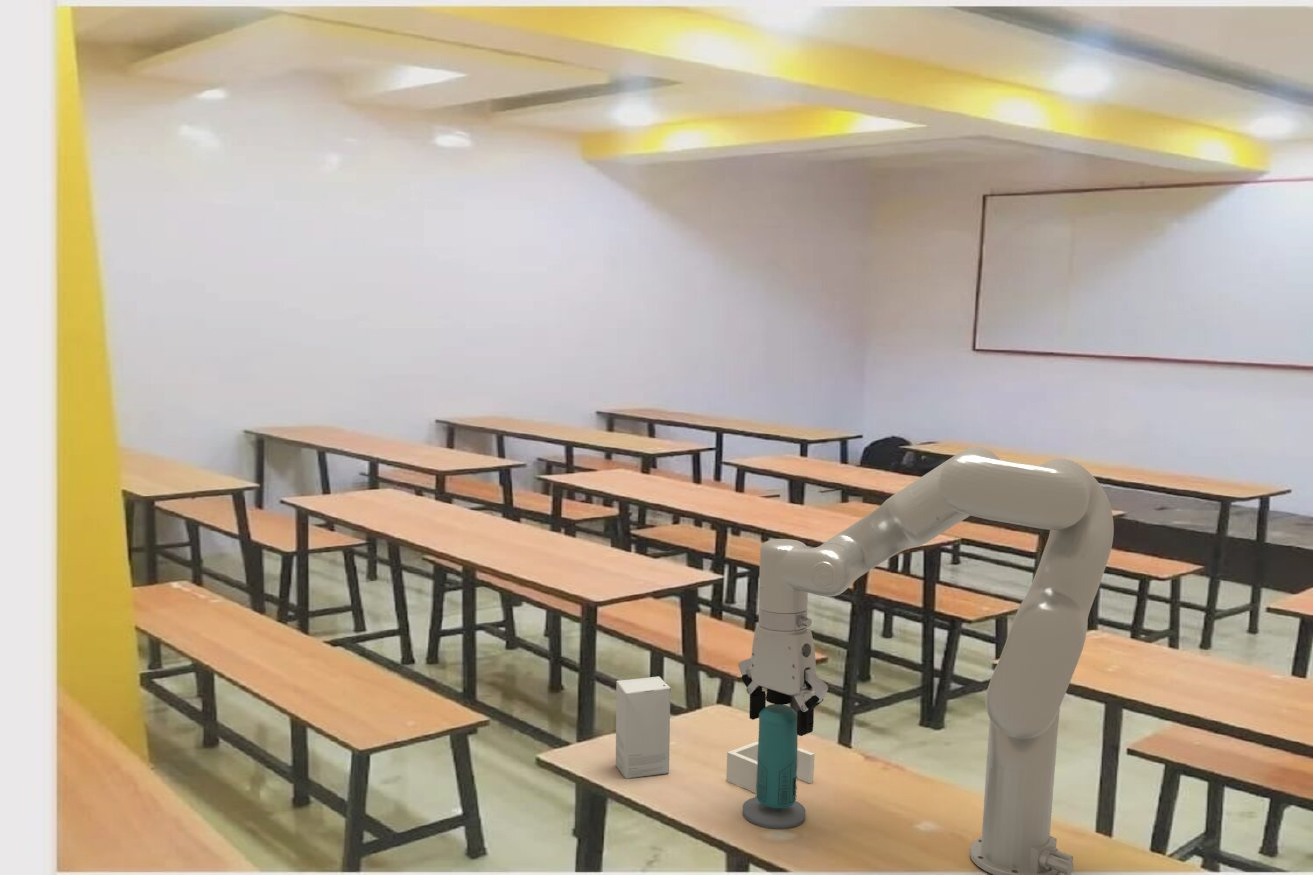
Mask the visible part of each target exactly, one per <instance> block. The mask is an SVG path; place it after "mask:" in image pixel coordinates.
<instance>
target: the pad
mask: <svg viewBox="0 0 1313 875" xmlns="http://www.w3.org/2000/svg"><path fill="white" fill-rule="evenodd" d="M806 814H807V810H806V808H805V806H804V805H803V804H802V803H800V802H799V801H797V800H795V803H794V804H793V805H792V806H789V807H786V808H772V807H767V806H765V805H762V804H761V803H759V802H758V800H757V797H756V796H755V797H754V796H753V797H751V798H749V799H747V800H745V801H744V803H743V804H742V816H743V818H744V819H745V820H746V821H747V822H749V824H752V825H755V826H757V827H761V828H765V829H771V830H786V829H791V828H792V829H793V828H795V827H796V828H797V827H799V826H801V825H802V824H803V823H804V822H805V821H806V816H807V815H806Z"/></svg>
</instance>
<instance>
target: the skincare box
mask: <svg viewBox="0 0 1313 875" xmlns="http://www.w3.org/2000/svg"><path fill="white" fill-rule="evenodd" d="M615 684H616V685H615V686H616V688H615V689H616V691H615V692H616V696H615V701H616V704H615V707H616V708H615V766H616V767H617V769H618V770H619V772H620V773H621V774H622V775H623V777H624V778H625V779H626V780H627V779H633V778H643V777H649V776H657V775H664V774H669V773H670V743H671V741H670V738H671V737H670V734H671V733H670V732H671V730H670V729H671V691H672V688H671V686H669V685H668V684H667V683H666V681H664V680H663V679H662V677H661V676H659V675H658V676H651V677H642V678H640V677H639V678H632V679H624V680H622V679H621V680H620V679H619V680H616V683H615Z"/></svg>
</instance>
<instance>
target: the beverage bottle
mask: <svg viewBox="0 0 1313 875" xmlns="http://www.w3.org/2000/svg"><path fill="white" fill-rule="evenodd" d="M767 702H768V703H770V704H769V705H768V704H767V705H766V707H765V708H764V709H763V710H761V711H760V713H759V718H758V740H757V741H758V756H757V757H758V761H757V766H756V767H757V773H756V774H757V783H756V789H757V791H756V792H757V793H756V795H755V797H757V800H758V802H759V803H761V804H762V805H765V806H767V807H772V808H786V807H789V806H792V805H793V804H794V803H795V801H797V790H798V786H797V777H796V775H797V769H798V765H797V764H798V763H797V762H798V761H797V760H798V759H797V747H799V744H798V738H799V735H798V734H797V712H796V710H794V708H792V707H791V706H789V704H791V703H792V702H793V696H789V695H786V694H782V693H779V692H777V691H773V690H770V689H767V688H766V703H767ZM797 776H798V775H797Z"/></svg>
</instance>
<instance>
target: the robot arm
mask: <svg viewBox="0 0 1313 875" xmlns="http://www.w3.org/2000/svg"><path fill="white" fill-rule="evenodd" d="M1109 500H1110V499H1109V498H1108V496H1107V493H1106V491H1105V490H1104V489H1103V487H1102V485H1101V484H1100V483H1099V481H1098V480H1097V479H1096V478H1095V476H1093V474H1091V472H1090V471H1088V469H1086V468H1085V467H1084V466H1082V465H1081V464H1079V463H1078V462H1075V461H1072V460H1070V459H1065V458H1056V459H1051V460H1049V461H1047V462H1044V463H1042V464H1041V465H1036V464H1034V465H1033V464H1026V463H1022V462H1021V463H1019V462H1013V461H1009V460H1003V459H1000V458H999V456H997V455H996V454H995V453H994V452H993V451H991V450H989V449H986V448H983V447H977V446H976V447H970V448H967V449H966V448H965V449H964V450H961V451H959V452H958V453H956V454H955V455H953V456H952V457H950V458H949V459H948V458H947V460H946V461H944V462H942V463H941V464H940V465H939V464H938V466H936V467H934V468H933V469H932V470H930V471H928V472H927V473H925V474H924V475H922V476H921V477H920V478H918V479H916V480H914V481H913V482H911V483H910V484H908V485H907V486H905V487H903V488H902V489H901V490H899V491H897V492H896V493H894V494H893V495H891V496H890V497H888V498H887V499H886V500H885V501H884V502H883V503H882V504H881V505H880V506H879V507H877V508H876V509H875V510H873V511H871V512H870V513H869V514H867V515H865V516H864V517H863V518H861V519H859V520H857V521H856V522H855V523H853V524H851V525H850V526H848V527H847V528H845V529H843V530H842V531H841V532H839V533H837V534H836V535H834V536H832V537H831V538H829V539H828V540H826V541H825V542H824V543H822V544H821V545H819V546H817V547H813V548H811V547H810V548H809V547H807V545H806V544H805V543H804V542H802V541H800V540H796V539H792V538H791V539H789V538H777V539H776V538H775V539H770V540H766V541H765V542H764V543H762V545H761V546H760V548H759V550H760V551H759V578H758V579H759V582H758V583H759V584H758V586H759V587H758V591H759V592H758V594H759V595H758V604H759V605H758V623H757V624H756V626H755V630H754V633H753V635H754V636H753V640H752V648H751V656H750V657H749V658H747V659H744V660H742V661H740V662H738V663H737V666H738V669H739V671H740V675H741V680H742V683H743V684H744V685H745V687H746V688H745V692H746V693H747V694H748V695H749V719H750V720H752V721H755V720H756V719H759V713H760V711H761V710H763V709H764V708H765V707H766V706H767V705H766V704H767V701H766V695H767V692H766V690H767V689H770V690H773V691H777V692H779V693H782V694H786V695H789V696H792V697H794V699H795V702H796V703H797V705H798V707H799V708H800V709H798V710H797V712H796V713H797V734H798V737H803V736H806V735H808V734H810V733H813V730H814V722H815V721H814V719H815V718H814V717H815V716H814V715H815V714H814V712H815V709H816V708H818V706H819V705H821V703H822V702H823V701H824V697H825V696H826V694H827V692H828V690H829V686H828V685H827V684H826V683H825V682H824V681H823V680H822V679H821V678H820V677H819V676H818V675H817V663H816V662H817V660H816V651H815V642H814V638H813V634H812V630H811V629H808V628H809V627H811V626H812V621H813V620H812V619H811V618H809V617H808V597H809V594H812V595H817V596H819V597H820V596H821V597H836V596H839V595H841V594H842V593H844V592H845V591H846V590H848V588H849V587H851V586H852V584H854V582H856V581H857V580H858V579H859V578H860V577H862V576H864V575H866V573H868V572H870V571H871V570H872V569H874V568H876V567H878V566H879V565H880V564H882V563H884V562H885V561H887V560H889V559H890V558H892V557H893V556H895V555H897V554H899V553H901V552H903V551H905V550H908V549H912V548H918V547H921V546H923V545H925V544H928V543H929V542H931V541H932V540H934V539H935V538H936V537H938V536H939V535H941V534H943V533H945V532H946V531H947V530H949V529H951V528H953V527H954V526H956V525H958V524H959V523H960V522H963V521H964V520H966V519H967V518H969V517H971V516H972V517H976V518H981V519H985V520H989V521H993V522H994V521H996V522H1001V523H1007V524H1013V525H1019V526H1024V527H1028V528H1033V529H1034V528H1036V529H1041V530H1048V531H1049V535H1048V538H1047V541H1046V544H1045V546H1044V549H1043V552H1042V555H1041V559H1040V561H1039V563H1038V567H1037V570H1036V572H1035V574H1034V577H1033V580H1032V582H1031V584H1030V587H1029V589H1028V591H1027V592H1026V595H1025V597H1024V599H1023V600H1022V602H1021V603H1020V605H1019V606H1018V609H1017V611H1016V614H1015V617H1014V619H1013V622H1012V625H1011V627H1010V630H1009V633H1008V636H1007V637H1006V641H1005V644H1004V646H1003V649H1002V652H1001V654H1000V657H999V659H998V661H997V664H996V666H995V668H994V670H993V672H992V675H991V678H990V681H989V684H988V687H987V689H986V693H985V699H984V703H985V704H984V705H985V710H986V713H987V715H988V716H987V717H988V718H989V724H988V726H989V727H988V739H987V750H986V751H987V752H986V762H985V763H986V768H985V779H984V780H985V783H984V796H983V797H984V798H983V799H984V800H983V812H982V813H983V814H982V825H981V826H982V827H981V829H982V830H981V837H979V838H977V839H976V840H974V841H973V842H972V843H971V844H970V847H969V856H970V859H971V861H972V862H973V863H974V864H975V865H976V866H977V867H978V868H980V869H981V870H983V871H984V872H986V873H989V874H991V875H1057V874H1058V873H1061V874H1063V875H1072V874H1073V871H1074V868H1075V867H1074V862H1073V861H1074V857H1073V855H1071V854H1069V853H1066V852H1062V851H1059V849H1058V848H1057V841H1058V840H1057V838H1056V837H1053V836H1051V826H1052V812H1053V799H1054V798H1053V797H1054V783H1055V771H1056V770H1055V768H1056V761H1057V760H1056V759H1057V747H1058V734H1059V730H1058V729H1059V723H1060V720H1059V719H1060V712H1061V705H1062V704H1063V701H1064V698H1065V696H1066V694H1067V691H1068V688H1069V686H1070V683H1071V681H1072V678H1073V675H1074V673H1075V670H1076V668H1077V667H1078V663H1079V661H1080V659H1081V655H1082V653H1083V649H1084V646H1085V643H1086V638H1087V630H1088V629H1087V628H1088V622H1089V621H1088V619H1089V616H1090V611H1091V608H1092V606H1093V603H1094V600H1095V598H1096V596H1097V593H1098V590H1099V588H1100V585H1101V582H1102V578H1103V576H1104V573H1105V570H1106V567H1107V564H1108V561H1109V559H1110V555H1111V552H1112V546H1113V541H1114V533H1115V532H1114V530H1115V528H1114V527H1115V526H1114V523H1115V522H1114V518H1113V511H1112V508H1111V507H1112V506H1111V503H1110V501H1109ZM763 689H766V690H763ZM813 691H814V692H813Z"/></svg>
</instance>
